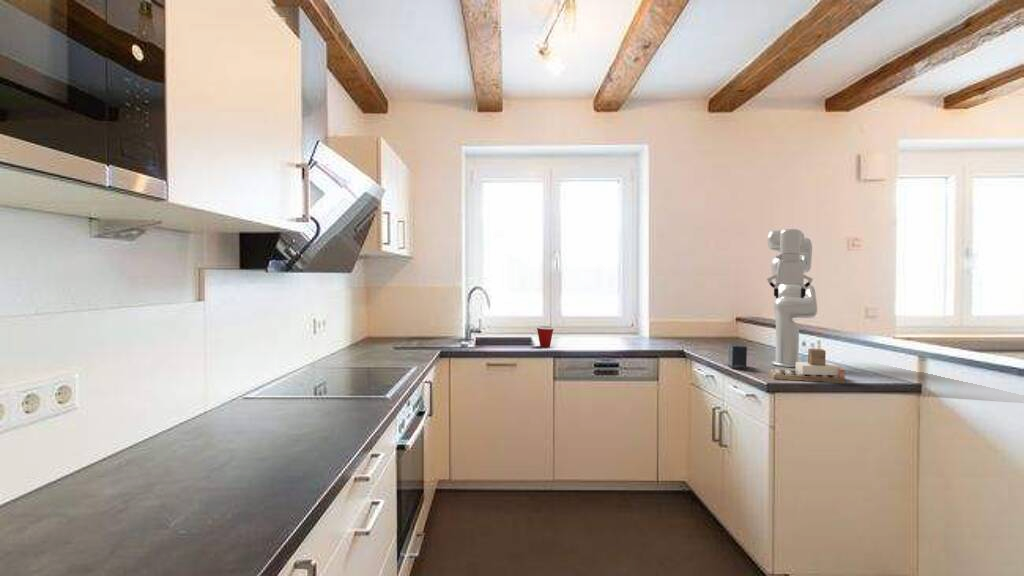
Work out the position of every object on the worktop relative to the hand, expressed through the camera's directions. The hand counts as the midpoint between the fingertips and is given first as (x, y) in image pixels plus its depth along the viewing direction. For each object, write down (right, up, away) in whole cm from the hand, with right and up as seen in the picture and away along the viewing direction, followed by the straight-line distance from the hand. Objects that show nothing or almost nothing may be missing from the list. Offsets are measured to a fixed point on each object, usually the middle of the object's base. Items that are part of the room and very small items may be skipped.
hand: (789, 298), depth 221 cm
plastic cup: (-100, -31, +82) cm, 133 cm away
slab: (+5, -30, -11) cm, 33 cm away
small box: (-16, -32, +15) cm, 39 cm away
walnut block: (+5, -27, -12) cm, 30 cm away
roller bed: (+1, -33, -10) cm, 34 cm away
